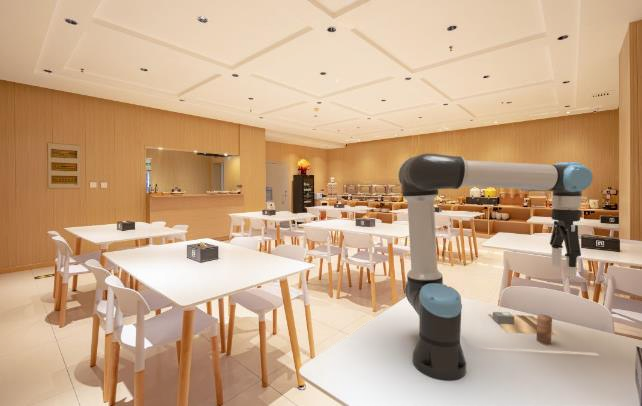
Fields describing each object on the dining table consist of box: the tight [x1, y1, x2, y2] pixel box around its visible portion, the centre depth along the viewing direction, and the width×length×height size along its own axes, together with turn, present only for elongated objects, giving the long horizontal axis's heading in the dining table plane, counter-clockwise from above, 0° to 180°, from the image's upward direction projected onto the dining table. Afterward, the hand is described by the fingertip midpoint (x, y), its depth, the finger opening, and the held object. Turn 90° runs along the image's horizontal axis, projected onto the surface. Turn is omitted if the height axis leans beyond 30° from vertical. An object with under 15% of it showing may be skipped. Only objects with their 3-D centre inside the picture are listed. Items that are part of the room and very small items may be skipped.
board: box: [487, 313, 560, 336], centre depth 118 cm, size 18×16×1 cm
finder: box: [492, 311, 514, 325], centre depth 119 cm, size 6×4×3 cm, turn 85°
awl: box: [535, 313, 553, 346], centre depth 104 cm, size 4×4×10 cm
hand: (562, 271), depth 103 cm, fingers open, 13 cm apart
